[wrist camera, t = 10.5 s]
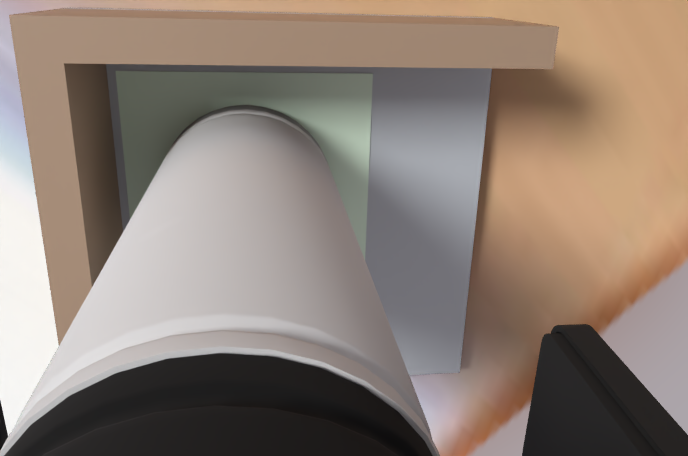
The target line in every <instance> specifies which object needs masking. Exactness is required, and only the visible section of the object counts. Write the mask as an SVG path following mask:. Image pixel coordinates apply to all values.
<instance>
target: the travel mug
mask: <svg viewBox="0 0 688 456" xmlns="http://www.w3.org/2000/svg"><path fill="white" fill-rule="evenodd" d="M0 456H440V455H439V452H438V450H437V448H436V446H435V444H434V443H433V441H432V437H431V433H430V429H429V426H428V423H427V421H426V418H425V416H424V413H423V410H422V408H421V405H420V403H419V400H418V397H417V395H416V392H415V389H414V387H413V384H412V382H411V379H410V376H409V374H408V371H407V369H406V366H405V363H404V361H403V358H402V356H401V353H400V350H399V348H398V345H397V342H396V340H395V337H394V335H393V332H392V329H391V327H390V324H389V322H388V319H387V316H386V314H385V311H384V309H383V306H382V303H381V301H380V298H379V296H378V293H377V290H376V288H375V285H374V282H373V280H372V277H371V275H370V272H369V269H368V267H367V264H366V262H365V259H364V256H363V254H362V251H361V249H360V246H359V243H358V241H357V238H356V236H355V233H354V230H353V228H352V225H351V222H350V220H349V217H348V215H347V212H346V209H345V207H344V204H343V202H342V199H341V196H340V194H339V191H338V189H337V186H336V183H335V181H334V178H333V176H332V173H331V170H330V168H329V165H328V162H327V160H326V158H325V156H324V154H323V152H322V150H321V148H320V146H319V144H318V143H317V141H316V140H315V139H314V138H313V136H312V135H311V134H310V133H309V131H307V130H306V129H305V128H304V127H303V126H302V125H300V124H299V123H298V122H297V121H296V120H294V119H292V118H290V117H289V116H287V115H285V114H283V113H281V112H279V111H276V110H273V109H270V108H266V107H261V106H253V105H236V106H228V107H224V108H221V109H217V110H213V111H211V112H209V113H207V114H205V115H203V116H201V117H199V118H198V119H196V120H195V121H194V122H193V123H191V124H190V125H189V126H188V127H186V128H185V129H184V130H183V131H182V133H181V134H180V135H179V136H178V137H177V139H176V140H175V141H174V143H173V144H172V146H171V148H170V150H169V152H168V153H167V155H166V157H165V159H164V160H163V162H162V164H161V166H160V167H159V169H158V171H157V173H156V175H155V176H154V178H153V180H152V182H151V183H150V185H149V187H148V189H147V191H146V192H145V194H144V196H143V198H142V199H141V201H140V203H139V205H138V207H137V208H136V210H135V212H134V214H133V215H132V217H131V219H130V221H129V223H128V224H127V226H126V228H125V230H124V231H123V233H122V235H121V237H120V239H119V240H118V242H117V244H116V246H115V247H114V249H113V251H112V253H111V255H110V256H109V258H108V260H107V262H106V263H105V265H104V267H103V269H102V271H101V272H100V274H99V276H98V278H97V279H96V281H95V283H94V285H93V287H92V288H91V290H90V292H89V294H88V295H87V297H86V299H85V301H84V303H83V304H82V306H81V308H80V310H79V311H78V313H77V315H76V317H75V319H74V320H73V322H72V324H71V326H70V327H69V329H68V331H67V333H66V335H65V336H64V338H63V340H62V342H61V343H60V345H59V347H58V349H57V351H56V352H55V354H54V356H53V358H52V359H51V361H50V363H49V365H48V367H47V368H46V370H45V372H44V374H43V375H42V377H41V379H40V381H39V383H38V384H37V386H36V388H35V390H34V391H33V393H32V395H31V397H30V399H29V400H28V402H27V404H26V406H25V407H24V409H23V411H22V413H21V415H20V417H19V419H18V421H17V423H16V425H15V427H14V429H13V431H12V432H11V433H10V434H9V436H8V438H7V439H6V441H5V443H4V445H3V447H2V448H1V450H0Z"/></svg>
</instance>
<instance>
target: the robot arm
mask: <svg viewBox="0 0 688 456" xmlns="http://www.w3.org/2000/svg"><path fill="white" fill-rule="evenodd" d="M7 438H8V435H7V430H6V425H5V420H4V416H3V411H2V406H1V402H0V450H1V448H2V447H3V445H4V443H5V441H6V439H7ZM522 456H688V435H687V434H686V433H685V431H684V430H683V429H682V428H681V427H680V426H679V425H678V424H677V422H676V421H675V420H674V419H673V418H672V417H671V416H670V415H669V413H668V412H667V411H666V410H665V409H664V408H663V407H662V406H661V404H660V403H659V402H658V401H657V400H656V399H655V398H654V397H653V395H652V394H651V393H650V392H649V391H648V390H647V389H646V388H645V386H644V385H643V384H642V383H641V382H640V381H639V380H638V379H637V377H636V376H635V375H634V374H633V373H632V372H631V371H630V370H629V368H628V367H627V366H626V365H625V364H624V363H623V362H622V360H620V358H619V357H618V356H617V355H616V354H615V353H614V351H613V350H612V349H611V348H610V347H609V346H608V345H607V344H606V342H605V341H604V340H603V339H602V338H601V337H600V336H599V335H598V333H597V332H596V331H595V330H594V329H593V328H592V327H591V326H590V325H586V324H582V325H557V326H555V327H554V328H553V330H552V331H551V334H545V335H544V337H543V339H542V343H541V348H540V354H539V360H538V366H537V371H536V377H535V383H534V389H533V394H532V400H531V406H530V412H529V418H528V424H527V429H526V435H525V441H524V447H523V453H522Z"/></svg>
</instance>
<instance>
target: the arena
mask: <svg viewBox="0 0 688 456" xmlns="http://www.w3.org/2000/svg"><path fill="white" fill-rule="evenodd" d="M9 18H10V24H11V31H12V38H13V44H14V51H15V57H16V64H17V71H18V77H19V84H20V91H21V97H22V104H23V110H24V117H25V124H26V130H27V137H28V144H29V150H30V157H31V164H32V170H33V177H34V183H35V190H36V197H37V203H38V210H39V217H40V223H41V230H42V237H43V243H44V250H45V256H46V263H47V270H48V276H49V283H50V290H51V296H52V303H53V310H54V316H55V323H56V329H57V336H58V343H59V345H60V343H61V342H62V340H63V338H64V336H65V335H66V333H67V331H68V329H69V327H70V326H71V324H72V322H73V320H74V319H75V317H76V315H77V313H78V311H79V310H80V308H81V306H82V304H83V303H84V301H85V299H86V297H87V295H88V294H89V292H90V290H91V288H92V287H93V285H94V283H95V281H96V279H97V278H98V276H99V274H100V272H101V271H102V269H103V267H104V265H105V263H106V262H107V260H108V258H109V256H110V255H111V253H112V251H113V249H114V247H115V246H116V244H117V242H118V240H119V239H120V237H121V235H122V233H123V231H124V230H125V228H126V226H127V224H128V223H129V221H130V219H131V217H132V215H133V214H134V212H135V210H136V208H137V207H138V205H139V203H140V201H141V199H142V198H143V196H144V194H145V192H146V191H147V189H148V187H149V185H150V183H151V182H152V180H153V178H154V176H155V175H156V173H157V171H158V169H159V167H160V166H161V164H162V162H163V160H164V159H165V157H166V155H167V153H168V152H169V150H170V148H171V146H172V144H173V143H174V141H175V140H176V139H177V137H178V136H179V135H180V134H181V133H182V131H183V130H184V129H185V128H186V127H188V126H189V125H190V124H191V123H193V122H194V121H195V120H196V119H198V118H199V117H201V116H203V115H205V114H207V113H209V112H211V111H213V110H217V109H221V108H224V107H228V106H236V105H253V106H261V107H266V108H270V109H273V110H276V111H279V112H281V113H283V114H285V115H287V116H289V117H290V118H292V119H294V120H296V121H297V122H298V123H299V124H300V125H302V126H303V127H304V128H305V129H306V130H307V131H309V133H310V134H311V135H312V136H313V138H314V139H315V140H316V141H317V143H318V144H319V146H320V148H321V150H322V152H323V154H324V156H325V158H326V160H327V162H328V165H329V168H330V170H331V173H332V176H333V178H334V181H335V183H336V186H337V189H338V191H339V194H340V196H341V199H342V202H343V204H344V207H345V209H346V212H347V215H348V217H349V220H350V222H351V225H352V228H353V230H354V233H355V236H356V238H357V241H358V243H359V246H360V249H361V251H362V254H363V256H364V259H365V262H366V264H367V267H368V269H369V272H370V275H371V277H372V280H373V282H374V285H375V288H376V290H377V293H378V296H379V298H380V301H381V303H382V306H383V309H384V311H385V314H386V316H387V319H388V322H389V324H390V327H391V329H392V332H393V335H394V337H395V340H396V342H397V345H398V348H399V350H400V353H401V356H402V358H403V361H404V363H405V366H406V369H407V371H408V374H409V375H423V374H442V373H460V365H461V356H462V346H463V337H464V327H465V318H466V309H467V299H468V290H469V280H470V271H471V262H472V252H473V243H474V233H475V224H476V215H477V205H478V196H479V186H480V177H481V168H482V158H483V149H484V139H485V130H486V121H487V111H488V102H489V92H490V83H491V74H492V68H494V69H553V66H554V59H555V51H556V44H557V37H558V30H559V27H557V26H549V25H542V24H535V23H527V22H520V21H513V20H505V19H498V18H491V17H451V16H408V15H365V14H322V13H278V12H235V11H192V10H148V9H105V8H62V9H54V10H46V11H38V12H30V13H22V14H14V15H9Z"/></svg>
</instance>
